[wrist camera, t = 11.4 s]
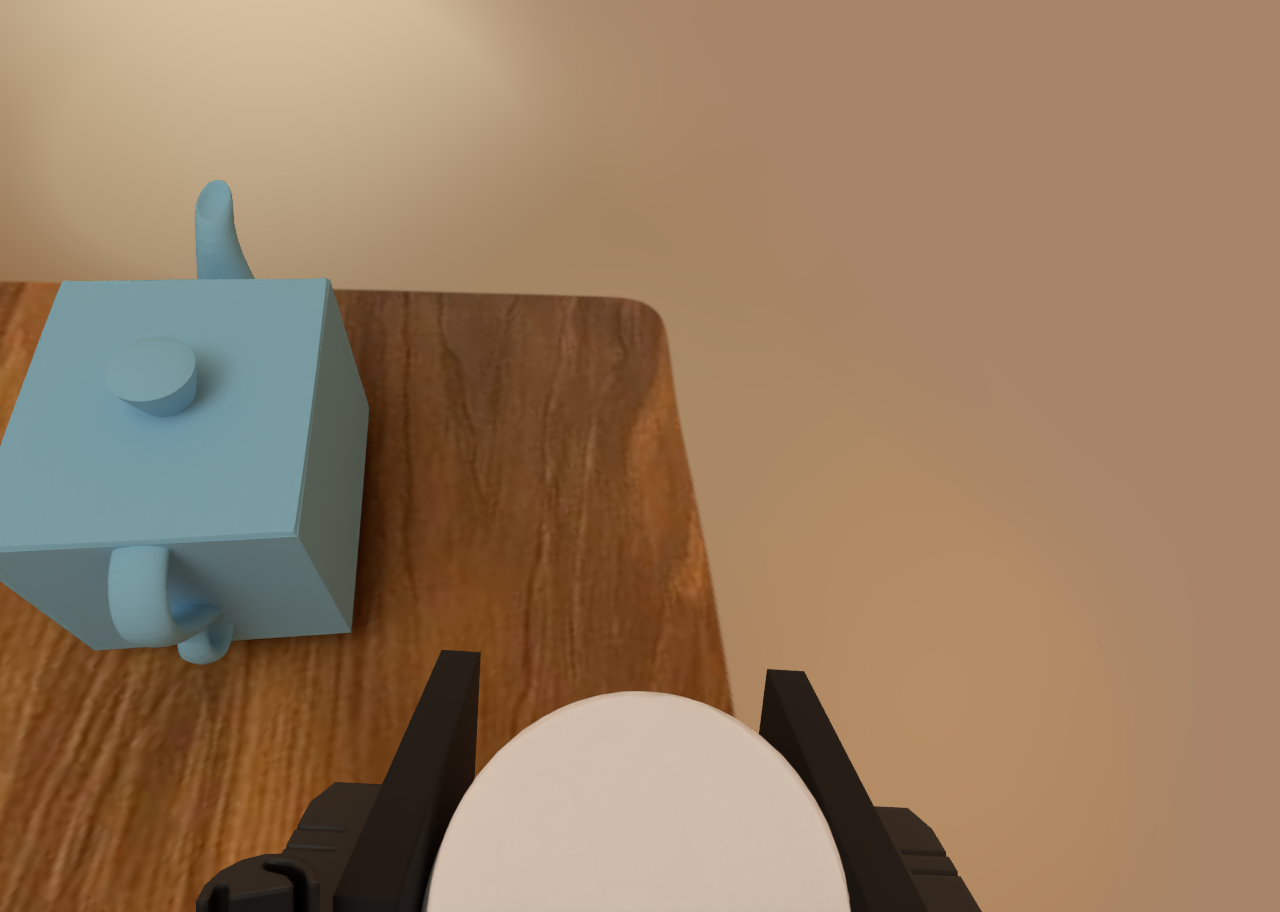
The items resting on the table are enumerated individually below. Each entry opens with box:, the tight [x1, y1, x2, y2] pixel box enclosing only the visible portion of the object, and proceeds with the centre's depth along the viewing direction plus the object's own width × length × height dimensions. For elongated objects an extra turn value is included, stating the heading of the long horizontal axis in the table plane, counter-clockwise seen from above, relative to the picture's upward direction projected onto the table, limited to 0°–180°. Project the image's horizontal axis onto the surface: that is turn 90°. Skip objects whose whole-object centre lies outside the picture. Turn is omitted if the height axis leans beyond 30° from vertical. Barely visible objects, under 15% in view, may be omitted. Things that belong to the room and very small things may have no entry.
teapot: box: [0, 180, 369, 664], centre depth 37 cm, size 22×11×14 cm, turn 7°
